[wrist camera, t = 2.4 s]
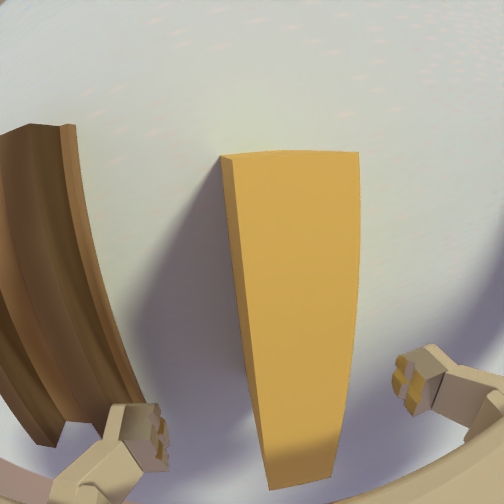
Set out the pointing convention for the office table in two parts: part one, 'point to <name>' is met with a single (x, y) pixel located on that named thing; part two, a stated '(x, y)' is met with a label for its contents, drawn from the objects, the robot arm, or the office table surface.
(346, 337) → the door panel
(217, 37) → the office table surface
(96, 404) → the sliding track
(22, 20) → the office table surface
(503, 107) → the office table surface
